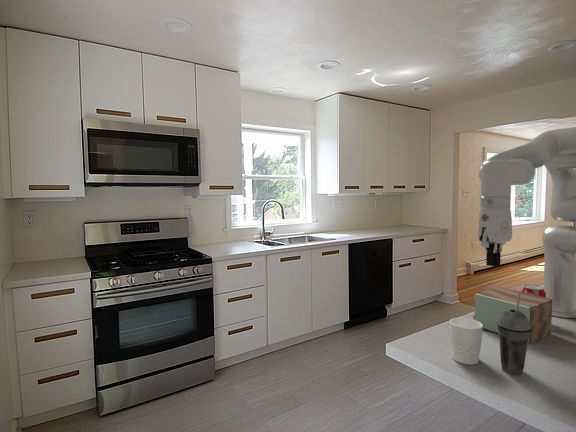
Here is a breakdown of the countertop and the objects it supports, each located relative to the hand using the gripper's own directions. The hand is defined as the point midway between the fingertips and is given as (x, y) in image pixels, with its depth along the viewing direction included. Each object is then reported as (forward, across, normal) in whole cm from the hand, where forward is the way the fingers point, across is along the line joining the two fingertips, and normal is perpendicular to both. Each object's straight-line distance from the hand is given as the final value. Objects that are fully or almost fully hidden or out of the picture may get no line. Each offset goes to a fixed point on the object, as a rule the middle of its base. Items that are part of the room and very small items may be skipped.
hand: (493, 265), depth 103 cm
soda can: (+23, +27, +1) cm, 36 cm away
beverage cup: (+23, -12, -12) cm, 29 cm away
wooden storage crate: (+23, +14, +1) cm, 27 cm away
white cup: (+23, -16, -2) cm, 28 cm away
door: (+23, +7, +1) cm, 24 cm away
